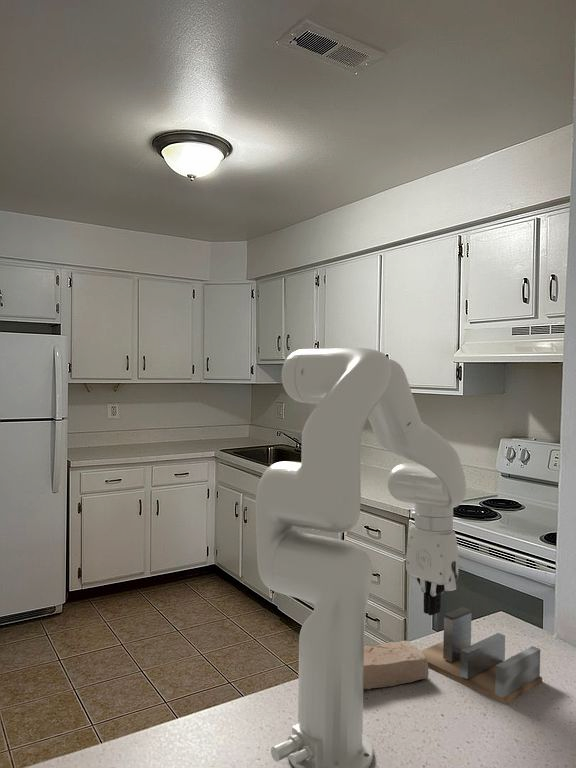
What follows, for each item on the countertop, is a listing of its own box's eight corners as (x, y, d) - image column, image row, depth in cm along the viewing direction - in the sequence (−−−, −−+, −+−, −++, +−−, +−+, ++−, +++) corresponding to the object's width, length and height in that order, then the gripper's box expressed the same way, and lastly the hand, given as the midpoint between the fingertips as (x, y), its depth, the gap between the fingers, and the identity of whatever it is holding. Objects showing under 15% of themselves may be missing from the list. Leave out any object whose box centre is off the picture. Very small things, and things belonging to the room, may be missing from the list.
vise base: (505, 705, 101) (506, 669, 101) (412, 659, 116) (413, 629, 116) (542, 682, 108) (542, 650, 108) (450, 642, 124) (450, 614, 124)
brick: (408, 660, 116) (408, 635, 116) (430, 680, 108) (430, 654, 108) (328, 672, 111) (328, 647, 111) (346, 695, 103) (346, 668, 103)
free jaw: (467, 679, 107) (468, 632, 106) (433, 662, 113) (434, 618, 112) (504, 659, 114) (505, 615, 114) (470, 645, 120) (471, 603, 120)
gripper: (393, 517, 124) (391, 605, 124) (452, 533, 112) (450, 630, 112) (416, 512, 128) (415, 597, 129) (476, 527, 116) (474, 620, 117)
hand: (431, 612), depth 120 cm, fingers closed
